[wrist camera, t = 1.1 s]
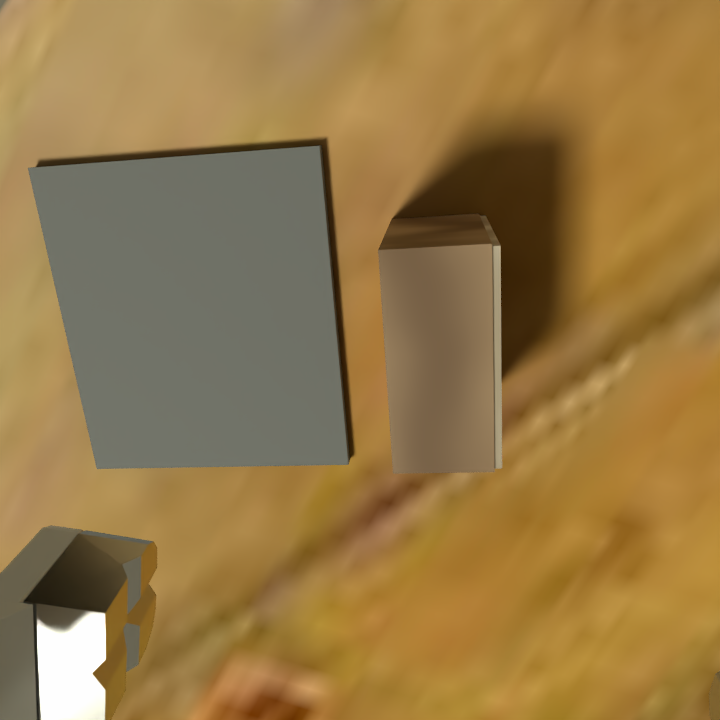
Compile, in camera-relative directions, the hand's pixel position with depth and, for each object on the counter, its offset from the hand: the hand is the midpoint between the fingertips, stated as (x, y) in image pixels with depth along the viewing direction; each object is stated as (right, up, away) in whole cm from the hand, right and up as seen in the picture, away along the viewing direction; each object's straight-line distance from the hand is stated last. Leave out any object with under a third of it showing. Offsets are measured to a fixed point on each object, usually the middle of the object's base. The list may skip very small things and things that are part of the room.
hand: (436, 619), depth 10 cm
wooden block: (+3, +6, +23) cm, 24 cm away
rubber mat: (-9, +6, +25) cm, 27 cm away
